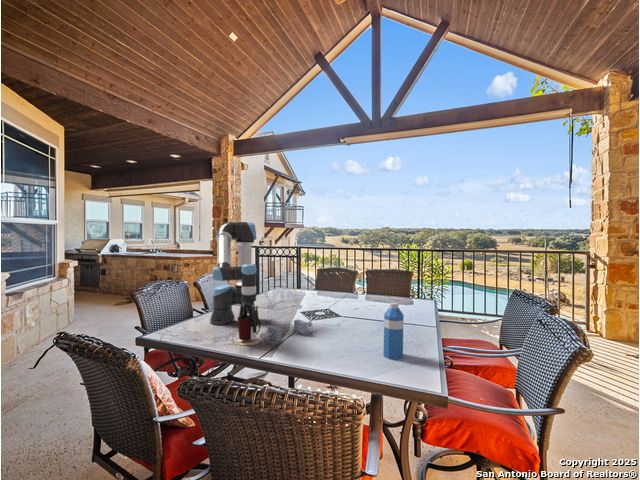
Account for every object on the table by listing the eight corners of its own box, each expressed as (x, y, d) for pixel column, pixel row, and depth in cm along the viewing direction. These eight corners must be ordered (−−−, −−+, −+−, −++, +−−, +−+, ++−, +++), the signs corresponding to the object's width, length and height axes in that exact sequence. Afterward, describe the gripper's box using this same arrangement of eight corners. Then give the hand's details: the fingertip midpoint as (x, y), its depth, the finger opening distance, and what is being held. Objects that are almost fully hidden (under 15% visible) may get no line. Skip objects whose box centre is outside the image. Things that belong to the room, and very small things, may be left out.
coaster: (232, 341, 158) (232, 340, 158) (252, 336, 167) (252, 335, 167) (244, 347, 150) (244, 346, 150) (264, 342, 158) (264, 341, 158)
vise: (256, 341, 158) (256, 328, 158) (305, 328, 181) (305, 317, 181) (267, 347, 151) (267, 333, 151) (316, 332, 174) (316, 320, 174)
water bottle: (380, 352, 146) (381, 301, 145) (399, 351, 146) (400, 301, 146) (386, 360, 136) (387, 305, 136) (406, 359, 137) (407, 305, 137)
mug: (262, 335, 162) (262, 315, 161) (257, 341, 153) (257, 320, 153) (241, 334, 163) (241, 314, 163) (235, 340, 154) (235, 319, 154)
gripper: (232, 291, 163) (232, 332, 164) (253, 298, 147) (253, 343, 147) (244, 289, 168) (244, 329, 169) (266, 296, 152) (266, 339, 153)
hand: (248, 335), depth 158 cm, fingers closed on mug, 9 cm apart
